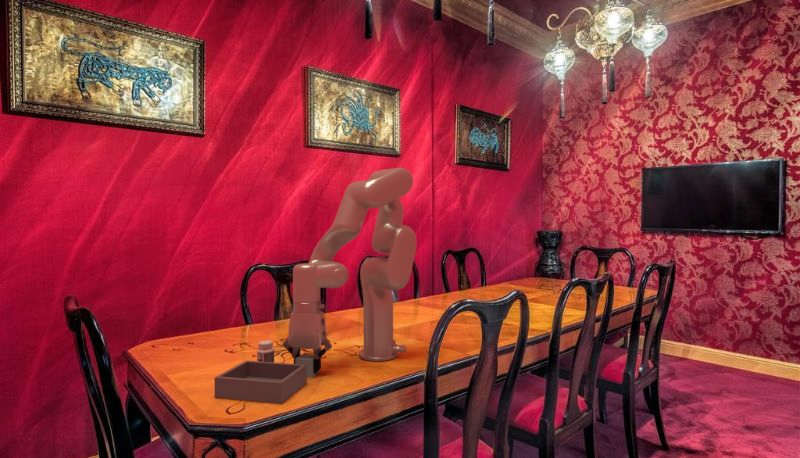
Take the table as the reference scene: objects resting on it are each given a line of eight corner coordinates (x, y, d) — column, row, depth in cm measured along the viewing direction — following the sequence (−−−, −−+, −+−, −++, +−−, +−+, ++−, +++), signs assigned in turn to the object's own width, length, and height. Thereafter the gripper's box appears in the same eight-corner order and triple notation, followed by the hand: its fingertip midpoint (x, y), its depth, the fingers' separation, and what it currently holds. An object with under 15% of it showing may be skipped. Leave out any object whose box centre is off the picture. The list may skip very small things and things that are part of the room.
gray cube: (319, 371, 130) (319, 354, 130) (312, 377, 125) (311, 359, 125) (303, 370, 131) (303, 353, 131) (295, 376, 126) (295, 358, 126)
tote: (306, 383, 121) (306, 364, 121) (281, 404, 107) (281, 383, 107) (246, 378, 125) (246, 360, 125) (214, 397, 111) (214, 377, 111)
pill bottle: (276, 368, 134) (275, 339, 133) (272, 373, 129) (271, 344, 129) (259, 368, 133) (259, 340, 133) (255, 373, 129) (255, 344, 128)
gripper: (340, 306, 130) (340, 369, 130) (285, 304, 133) (286, 365, 134) (330, 311, 122) (330, 378, 123) (272, 308, 126) (273, 373, 126)
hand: (307, 370), depth 128 cm, fingers closed on gray cube, 5 cm apart
